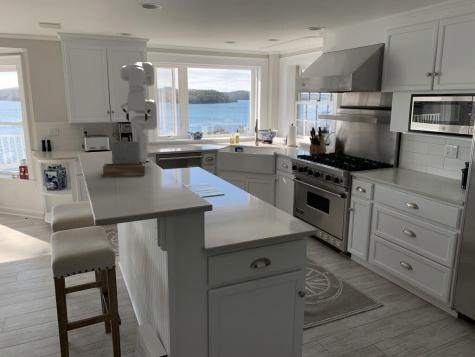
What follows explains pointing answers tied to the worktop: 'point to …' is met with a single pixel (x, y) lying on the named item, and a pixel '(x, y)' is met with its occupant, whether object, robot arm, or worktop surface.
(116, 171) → the u rest
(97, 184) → the worktop surface
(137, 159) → the hip flask
